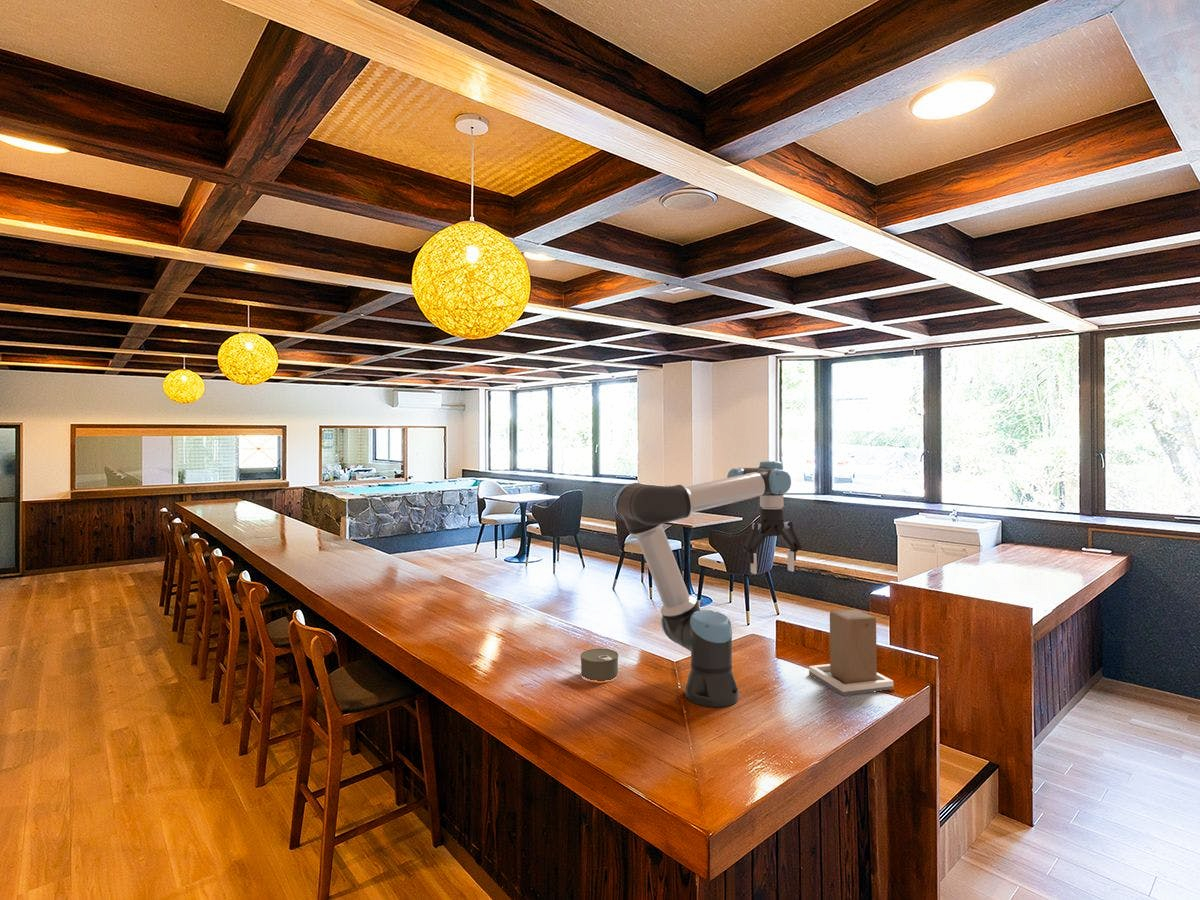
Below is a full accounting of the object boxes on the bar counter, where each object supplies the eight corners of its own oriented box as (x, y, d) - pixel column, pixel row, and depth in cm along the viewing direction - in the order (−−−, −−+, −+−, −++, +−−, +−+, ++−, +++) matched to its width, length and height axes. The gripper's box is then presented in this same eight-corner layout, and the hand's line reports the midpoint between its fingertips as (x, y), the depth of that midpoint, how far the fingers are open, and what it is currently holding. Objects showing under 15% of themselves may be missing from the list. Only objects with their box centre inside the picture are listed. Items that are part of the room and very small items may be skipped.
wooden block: (878, 684, 176) (877, 617, 176) (847, 687, 175) (846, 619, 175) (858, 672, 186) (858, 608, 186) (829, 674, 184) (828, 610, 184)
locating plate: (842, 696, 171) (842, 686, 171) (809, 674, 188) (809, 666, 188) (893, 690, 175) (893, 680, 175) (856, 669, 192) (855, 661, 192)
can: (602, 666, 197) (602, 645, 197) (626, 677, 187) (626, 655, 187) (573, 675, 189) (572, 654, 189) (596, 687, 180) (596, 664, 180)
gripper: (799, 505, 203) (799, 567, 203) (731, 508, 197) (732, 571, 197) (811, 507, 196) (812, 572, 196) (742, 510, 190) (743, 576, 190)
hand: (772, 572), depth 196 cm, fingers open, 13 cm apart
